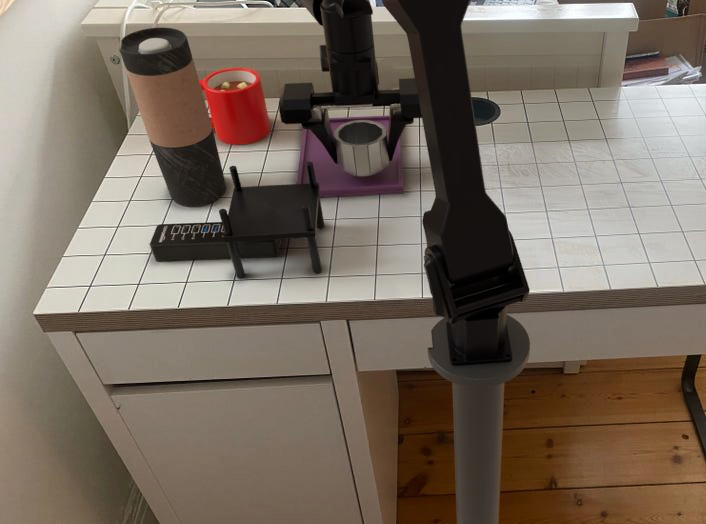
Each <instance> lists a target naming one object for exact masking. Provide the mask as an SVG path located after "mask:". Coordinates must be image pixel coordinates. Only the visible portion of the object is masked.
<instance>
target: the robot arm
mask: <svg viewBox="0 0 706 524" xmlns="http://www.w3.org/2000/svg"><path fill="white" fill-rule="evenodd" d="M300 2H301V3H302V6H303V7H304V8H305V9H306V10H307V12H309V14H310V15H311V16H312V18H313V19H314V20H315V21H316V22H317V23H318V24H319V26H322V28H323V29H322V30H323V35H324V36H323V37H324V42H325V44H319V59H320V68H321V72H323V73H328V72H329V78H330V84H331V91H327V92H315V88H314V84H313V82H291V83H284V85H283V86H282V87H281V89H280V94H279V100H278V111H279V112H278V113H279V116H280V117H279V118H280V122H281V123H282V124H284V125H297V124H298V125H301V129H302V130H303V129H310V130H311V131H312V132H313V134H314V135H315V136H316V137H317V138H318V139H319V140H320V142H321V143H322V144H323V146H324V147H325V149H326V150H327V152H328V153H329V155H330V156H331V158H332V159H333V161H334V163H335V164H338V162H337V154H336V149H335V142H334V136H333V132H332V128H331V124H330V121H329V118H330V116H329V115H330V114H329V111H328V110H331V109H333V110H335V109H350V108H351V109H354V108H355V109H357V108H377V107H380V108H381V107H389V110H388V111H389V112H388V113H389V114H388V115H389V133H388V157H389V161H392V159H393V156H394V152H395V149H396V146H397V143H398V140H399V138H400V139H401V136H402V134H403V132H404V130H405V128H406V126H407V125H412V124H414V122H415V119H421V120H422V121H421V122H422V126H423V131H424V137H425V143H426V149H427V155H428V158H429V159H428V160H429V165H430V170H431V171H430V172H431V177H432V181H433V182H432V183H433V188H434V195H435V197H434V199H433V203H432V206H431V208H430V210H425V211H424V212H423V216H422V220H421V223H422V227H423V231H424V236H425V242H426V247H425V249H424V255H423V262H424V263H423V269H424V272H425V276H426V280H427V283H428V288H429V293H430V295H431V298H432V305H433V308H432V309H433V313H434V314H435V316H438V317H442V318H444V317H446V319H447V320H448V322H447V323H446V328H447V337H448V346H449V356H450V363H451V365H453V366H460V365H474V364H488V363H502V362H510V361H512V350H511V345H510V340H509V335H508V329H507V324H506V316H507V315H508V314H507V313H508V306H510V305H513V304H516V303H523V302H526V301H527V299H528V297H529V294H530V291H531V290H530V286H529V283H528V280H527V277H526V274H525V270H524V267H523V264H522V261H521V258H520V254H519V252H518V248H517V245H516V241H515V239H514V237H513V234H512V232H511V230H510V229H509V224H508V218H507V216H506V214H504V212H503V211H502V210H501V209H500V207H498V205H497V204H496V203H495V202H494V200H493V199H492V198H491V197H490V196H489V195H488V193H487V189H486V186H485V178H484V173H483V171H484V170H483V165H482V158H481V151H480V144H479V139H478V138H479V137H478V132H477V125H476V118H475V111H474V103H473V98H472V91H471V85H470V78H469V72H468V63H467V57H466V52H465V51H466V50H465V43H464V37H463V30H462V24H463V21H464V19H465V16H466V14H467V11H468V8H469V5H470V2H471V0H381V2H382V5H383V6H384V8H385V9H386V10H387V11H388V13H389V14H390V15H391V16H392V17H393V19H394V20H395V22H397V24H398V25H399V26H400V27H401V29H402V30H403V31H404V32H405V34H406V38H407V42H408V47H409V53H410V59H411V65H412V70H413V75H414V77H411V78H410V77H409V78H398V87H393V88H391V89H379V85H380V77H379V66H378V61H377V57H376V49H375V48H376V47H375V40H374V29H373V28H374V27H373V18H372V15H373V14H374V11H373V7H372V4H371V0H300ZM507 357H509V358H507Z"/></svg>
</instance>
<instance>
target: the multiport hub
mask: <svg viewBox="0 0 706 524" xmlns="http://www.w3.org/2000/svg"><path fill="white" fill-rule="evenodd" d="M223 235H224V228H223V224H222V221H212V222H182V223H161V224H157V226H155V229H154V232H153V234H152V237H151V240H150V242H149V247H150V249H151V252H152V255H153V258H154V260H155V261H156V262H176V261H177V262H179V261H203V260H205V261H206V260H229V259H231V255H230V252H229V249H228V245H227V243H225V242H224V239H223ZM281 242H282V239H280V240H262V241H245V242H236V243H237V247H238V250H239V254H240V257H241V259H253V258H256V259H257V258H276V257H278V256H279V252H280V248H281ZM231 260H232V259H231Z"/></svg>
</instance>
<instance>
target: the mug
mask: <svg viewBox="0 0 706 524" xmlns="http://www.w3.org/2000/svg"><path fill="white" fill-rule="evenodd" d="M199 82H200V86H201V89H202V92H203V91H204V94H205V98H206V102H207V106H208V111H209V115H210V121H211V124H212V128H213V129H214V133H215V136H216V137H217V139H218V140H219V141H220V142H222V143H224V144H227V145H232V146H233V145H234V146H235V145H237V146H241V145H250V144H254V143H256V142H260V141H261V140H263V139H265V138H267V137H268V135H269V134H270V133H271V130H272V127H271V122H270V117H269V113H268V108H267V103H266V98H265V94H264V90H263V85H262V80H261V75H260V74H259V73H258V72H257V71H255V70H253V69H251V68H246V67H228V68H223V69H219V70H216V71H213V72H211V73H209V74H208V75H206V76H205V77H204V79H199Z"/></svg>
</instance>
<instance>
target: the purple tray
mask: <svg viewBox="0 0 706 524" xmlns="http://www.w3.org/2000/svg"><path fill="white" fill-rule="evenodd" d="M356 120H370V121H374V122H378V123H380V124H382V125H383V126H384V127H385V128H386V129H387V139H388V133H389V114H388V115H386V114H385V115H369V116H367V115H366V116H344V117H329V121H330V124H331V128H332V132H333V136H334V131H335V130H336V129H337V128H338V127H339V126H340V125H342V124H345V123H348V122H351V121H356ZM301 135H302V136H301V142H300V151H299V157H298V159H299V160H298V168H297V175H296V183H295V184H307V183H309V178H308V172H307V166H306V163H307V162H312V163H313V166H314V172H315V178H316V183H319V188H320V189H319V196H320V199H321V198H322V199H323V198H339V197H340V198H341V197H357V196H374V195H391V194H392V195H393V194H395V195H396V194H404V177H403V175H404V173H403V159H402V144H401V137H400V138H399V140H398V143H397V146H396V149H395V152H394V156H393V159H392V161H389V164H388V165H387V166H386V168H385V169H384V170H383V171H381V172H379V173H377V174H374V175H371V176H353V175H350V174H347V173H346V172H344V171H343V170H342V169H341V168H340V167H339V166H338V164H335V163H334V161H333V159H332V158H331V156H330V155H329V153H328V152H327V150H326V149H325V147H324V146H323V144H322V143H321V142H320V140H319V139H318V138H317V137H316V136H315V135H314V134H313V132H312V131H311V130H310V129H303V128H302V134H301Z"/></svg>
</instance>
